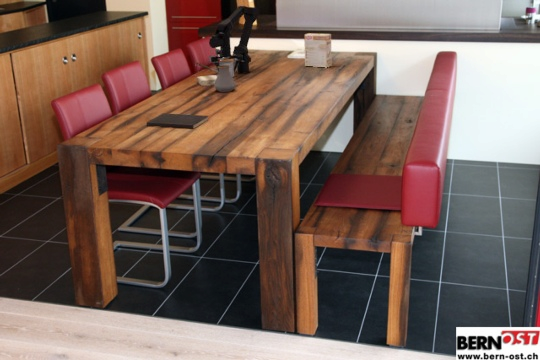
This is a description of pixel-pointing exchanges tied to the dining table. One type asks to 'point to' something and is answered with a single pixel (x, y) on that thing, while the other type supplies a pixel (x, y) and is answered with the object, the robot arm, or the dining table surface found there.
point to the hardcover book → (178, 121)
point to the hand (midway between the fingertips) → (226, 72)
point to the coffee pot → (222, 78)
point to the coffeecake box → (317, 50)
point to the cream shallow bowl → (206, 80)
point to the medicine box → (231, 68)
